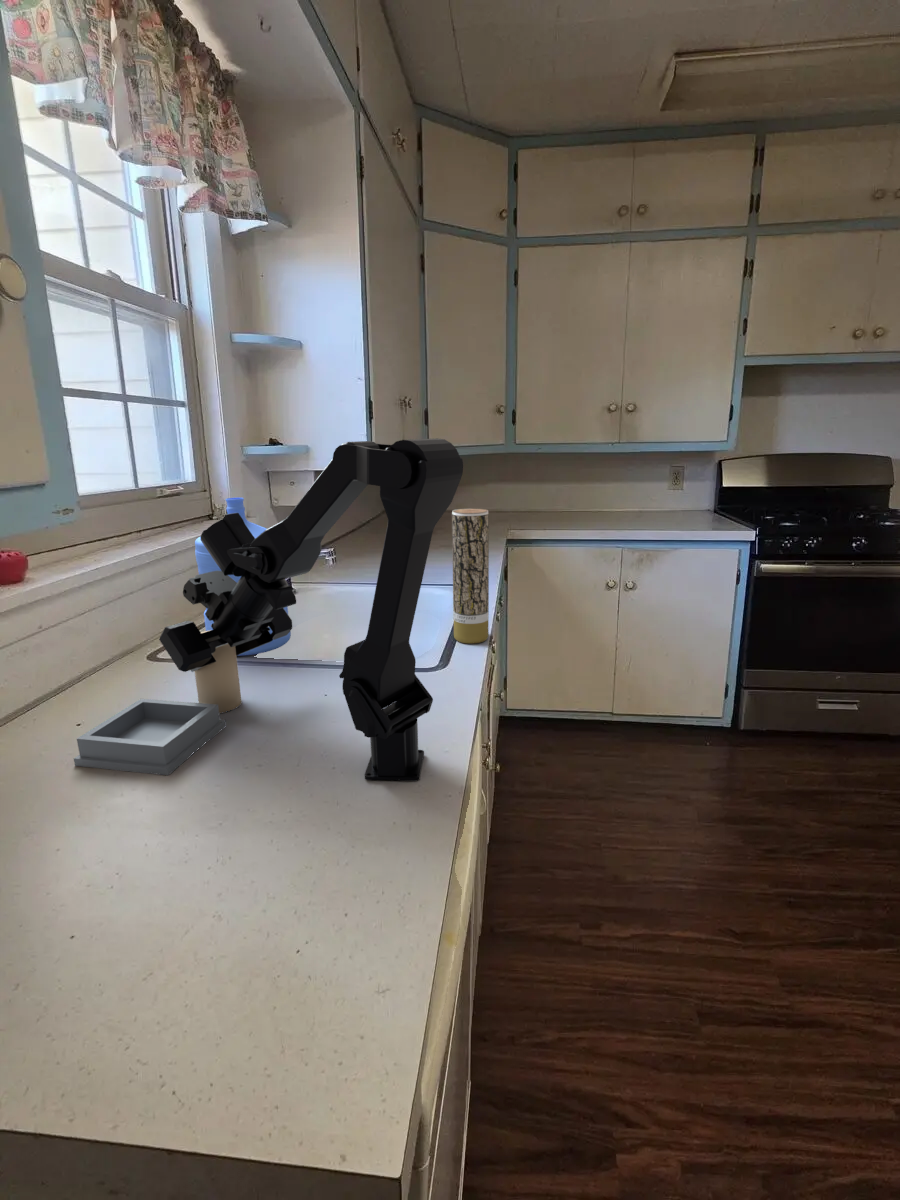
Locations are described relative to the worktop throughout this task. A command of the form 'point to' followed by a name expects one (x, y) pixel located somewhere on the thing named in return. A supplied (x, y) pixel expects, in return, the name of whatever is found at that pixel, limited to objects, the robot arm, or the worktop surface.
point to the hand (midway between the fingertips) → (209, 662)
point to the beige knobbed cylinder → (220, 680)
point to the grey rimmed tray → (149, 736)
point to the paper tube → (470, 574)
